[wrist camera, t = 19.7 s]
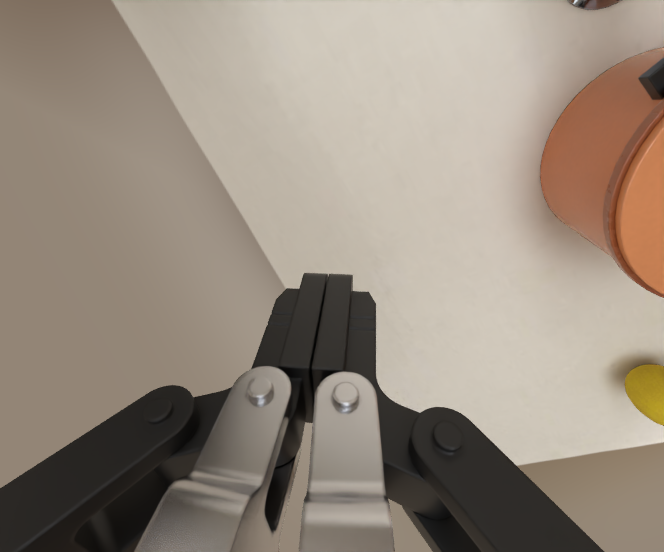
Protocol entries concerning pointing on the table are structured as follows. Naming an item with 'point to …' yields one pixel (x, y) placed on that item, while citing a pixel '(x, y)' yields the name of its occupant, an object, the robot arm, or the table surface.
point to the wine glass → (593, 3)
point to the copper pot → (614, 166)
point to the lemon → (647, 390)
